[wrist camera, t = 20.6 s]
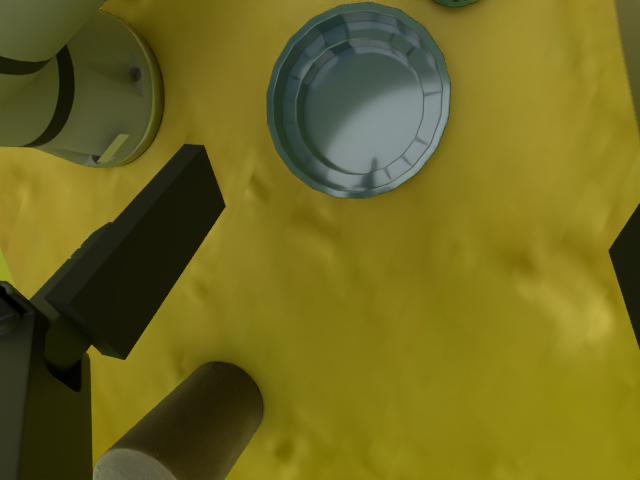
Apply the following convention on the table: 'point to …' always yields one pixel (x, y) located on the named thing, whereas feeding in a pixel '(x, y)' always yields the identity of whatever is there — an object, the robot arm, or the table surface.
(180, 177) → the robot arm
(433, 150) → the dish
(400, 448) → the table surface
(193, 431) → the pillar candle
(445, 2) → the beverage bottle
